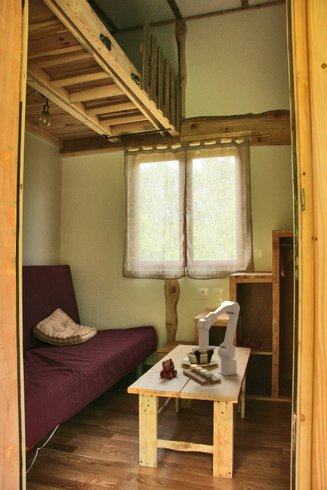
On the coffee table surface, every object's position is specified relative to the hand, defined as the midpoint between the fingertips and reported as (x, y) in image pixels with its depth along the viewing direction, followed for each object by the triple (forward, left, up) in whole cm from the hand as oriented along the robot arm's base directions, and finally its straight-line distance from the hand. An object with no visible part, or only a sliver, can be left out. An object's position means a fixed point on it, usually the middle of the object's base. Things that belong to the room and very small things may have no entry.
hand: (203, 363), depth 234 cm
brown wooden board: (0, -3, -9) cm, 10 cm away
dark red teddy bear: (+17, -12, -10) cm, 23 cm away
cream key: (0, -12, -8) cm, 14 cm away
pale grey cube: (0, +6, -8) cm, 10 cm away
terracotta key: (0, -6, -8) cm, 10 cm away
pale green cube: (0, 0, -8) cm, 8 cm away
